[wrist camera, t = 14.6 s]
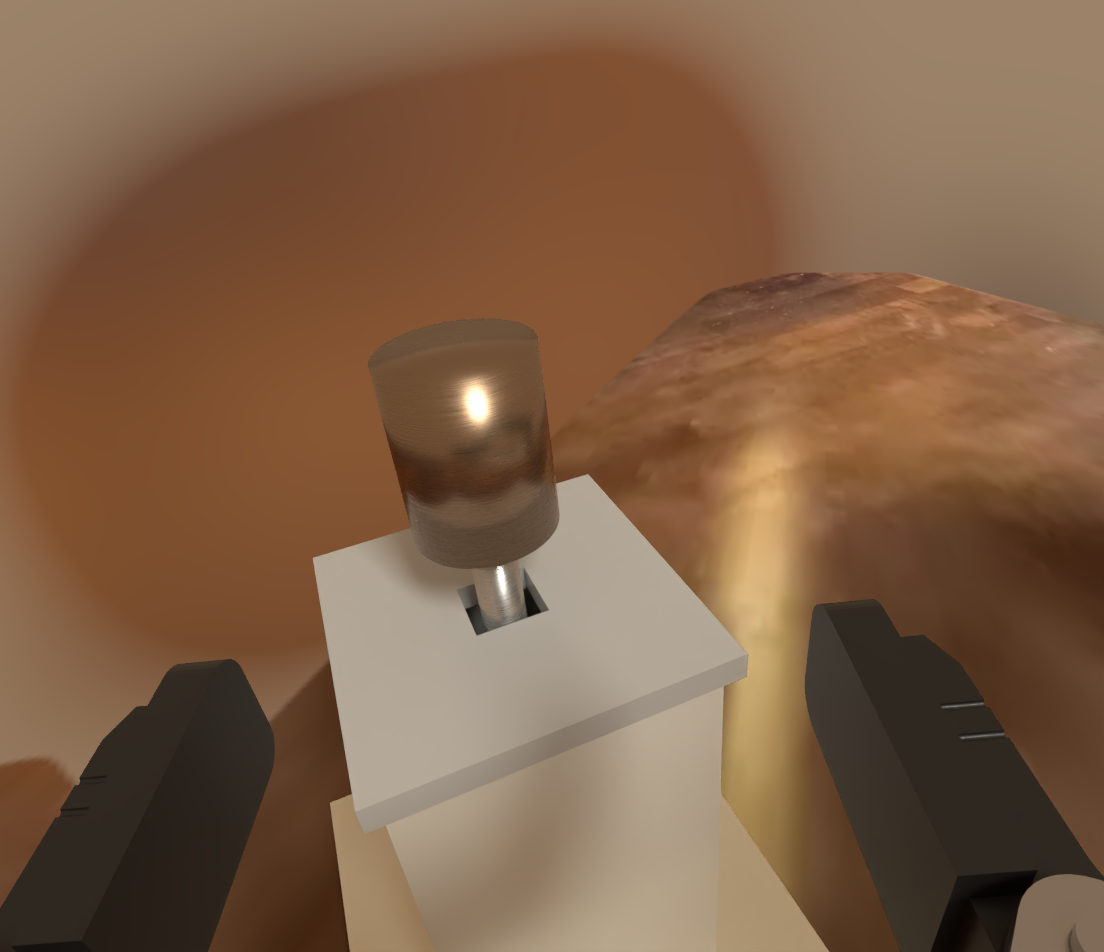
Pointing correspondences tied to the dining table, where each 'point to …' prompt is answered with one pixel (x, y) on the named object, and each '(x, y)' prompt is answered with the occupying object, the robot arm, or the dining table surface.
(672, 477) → the dining table surface
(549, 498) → the plunger
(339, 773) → the dining table surface
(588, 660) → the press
